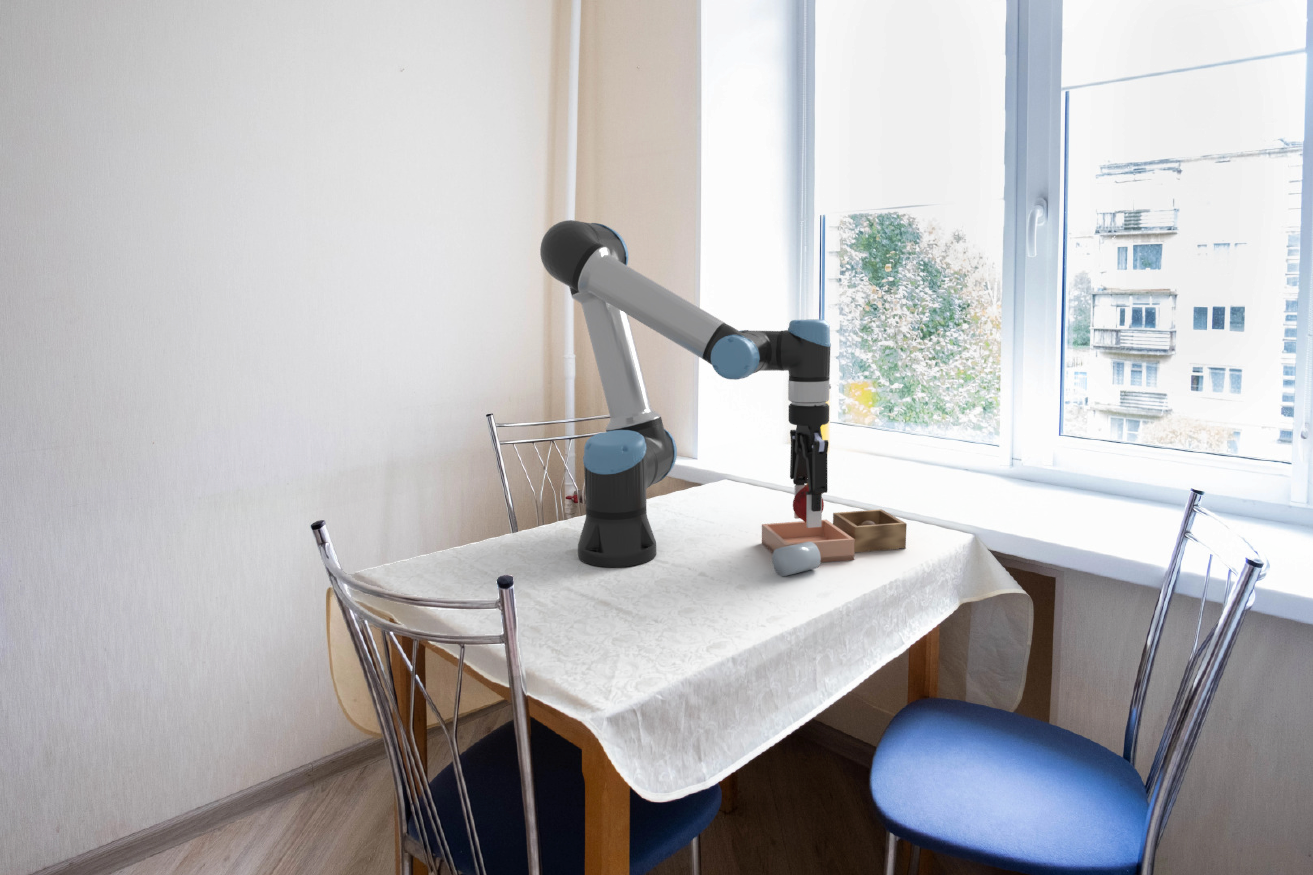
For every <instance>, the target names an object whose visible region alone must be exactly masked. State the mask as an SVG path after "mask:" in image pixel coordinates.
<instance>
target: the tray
mask: <svg viewBox="0 0 1313 875" xmlns="http://www.w3.org/2000/svg"><path fill="white" fill-rule="evenodd" d="M809 541H810V542H813V543H814V544H815V545H816V546H817V548H818V549H819V552H820V557H821V560H820V564H821V563H831V562H843V561H854V560H855V552H854V546H855V539H853V538H852V537H851V536H849V535H848V534H846V533H845V532H843V531H842V530H841V529H839V528H838V527H836V526H835V525H833V522H831V521H829V520H827V519H822V522H821V527H813V528H807V527H806V522H804V521H803V520H799V521H790V522H789V521H788V522H786V521H785V522H772V523H762V524H761V544H762V546H764V547H765V548H766V549H767V551H769V552H770V553H771V554H772V555H773V552H774V550H775V549H777V548H781V547H786V546H790V545H795V544H799V543H804V542H809Z"/></svg>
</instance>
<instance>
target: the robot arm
mask: <svg viewBox="0 0 1313 875" xmlns="http://www.w3.org/2000/svg"><path fill="white" fill-rule="evenodd" d="M539 248H540V260H541V263H542V265H543V267H544V269H545V271H546V272H547V273H548V274H549V275H550V276H551V277H553V278H554V279H555V280H557V281H558V282H560V283H562V284H563V285H566V286H568V288H569V291H570V295H571V298H572V299H573V300H575V301H576V302H578V303H580V305H581V308H582V310H583V315H584V320H585V323H586V327H587V330H588V331H587V332H588V335H589V339H590V342H591V347H592V351H593V354H594V358H595V362H596V367H597V371H598V374H599V378H600V383H601V386H602V389H603V394H604V397H605V402H606V404H607V405H606V406H607V410H608V413H609V417H610V420H609V422H608V423H607V426H606V427H605V431H606V432H599V433H595V434H594V435H592V436H591V437H589V438H588V439H587V440H586V442H585V443H584V446H583V447H584V448H583V449H584V450H583V451H584V452H583V458H582V462H583V470H584V471H583V473H584V496H585V520H584V523H583V527H582V530H581V533H580V537H579V540H578V544H577V557H578V559H579V561H581V562H583V563H585V564H587V565H591V566H595V565H596V567H601V568H603V567H604V568H622V567H623V568H624V567H632V566H637V565H642V564H645V563H647V562H650V561H651V560H653V559H655V557H656V556H657V541H656V538H655V536H654V532H653V530H652V527H651V524H650V521H649V519H648V515H647V489H648V488H650V487H651V486H652V485H653V486H654V485H655V484H658V483H659V482H660V481H663V480H664V479H665V478H666V477H667V476H668V475H669V473H670V472H671V471H672V469H673V468H674V466H675V464H676V462H677V456H678V450H677V443H676V441H675V439H674V437H673V435H672V433H670V432H669V431H668V430H667V429H665V427H664V424H663V419H662V416H661V414H660V413H659V412H657V411H655V410H654V409H653V408H652V405H651V402H650V396H649V394H648V390H647V386H646V382H645V378H644V374H643V370H642V365H641V362H640V358H639V355H638V350H637V345H636V342H635V338H634V335H633V334H634V333H633V329H632V326H631V322H630V317H631V318H633V319H635V320H636V321H637V322H639V323H641V324H643V325H645V326H646V327H648V328H650V329H651V330H653V331H654V332H656V333H659V335H661V336H663V337H664V338H667V339H668V340H670V342H673V343H675V344H676V345H678V346H680V347H682V348H683V349H685V350H687V351H688V352H690V353H691V354H694V355H695V356H697V357H699V358H701V359H702V360H704V361H705V362H707V363H708V364H710V365H712V368H713V370H714V371H715V372H716V374H717V375H718V376H720V377H721V378H723V379H726V380H740V379H742V380H743V379H745V378H748V377H749V376H751V375H752V374H755V373H758V372H762V371H763V372H764V371H771V372H772V371H773V372H774V371H781V372H784V371H787V372H788V380H787V382H788V383H787V387H788V391H787V394H788V397H787V398H788V399H787V400H788V401H789V402H790V403H789V404H788V422H789V424H791V425H794V426H796V429H790V431H789V435H790V459H789V460H790V461H789V462H790V464H789V467H790V468H789V478H790V480H792V482H793V485H794V496H795V495H796V494H797V493H798V492H799V491H800V490H801V489H802V488H804V487H805V485H806V484H807V483H808V487H809V491H807V492H805V493H806V495H807V515H806V527H807V528H813V527H821V522H822V520H823V519H822V518H823V517H822V515H823V511H822V499H823V494H825V493H828V451H829V440H828V439H823V435H822V426H825V425H827V424H829V422H830V405H829V403H827V402H828V401H830V390H831V389H832V384H830V377H831V376H830V373H831V371H830V370H831V369H830V368H831V348H832V347H831V346H832V344H831V333H830V323H829V322H828V321H827V320H825V319H819V318H818V319H791V321H790V322H789V325H788V328H787V329H786V330H749V329H743V330H742V329H741V330H738V329H737V328H735V327H733V326H731V325H730V324H728V323H726V322H724V321H723V320H721V319H720V318H717V317H716V316H714V315H712V314H711V313H709V312H707V311H706V310H704V309H702V308H700V307H699V306H697V305H695V304H694V303H692V302H690V301H689V300H687V299H685V298H683V297H682V296H680V295H678V294H676V293H675V292H673V291H671V290H669V289H668V288H666V287H664V286H662V285H661V284H659V283H658V282H656V281H654V280H652V279H650V278H649V277H647V276H646V275H643V274H642V273H640V272H638V270H635V269H634V268H631V267H630V266H628V264H629V251H628V247H627V244H626V242H625V240H624V238H623V237H622V236H621V235H620V234H619V232H617V231H616V230H614V229H613V228H611V227H609V226H607V225H605V224H601V223H597V222H584V221H580V220H574V219H573V220H571V219H570V220H561V221H559V222H558V223H556V224H554V225H553V226H551V227H549V229H548V230H547V231H546V232H545V234H544V235H543V237H542V239H541V243H540V247H539ZM793 514H794V516H793V517H794V519H799V520H800V518H799V517H798V516H797V515H796V514H795V512H794V511H793Z"/></svg>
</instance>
